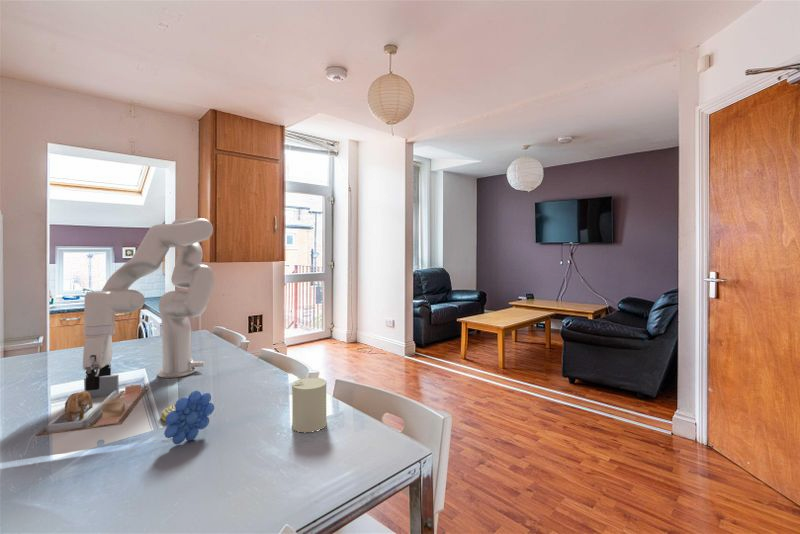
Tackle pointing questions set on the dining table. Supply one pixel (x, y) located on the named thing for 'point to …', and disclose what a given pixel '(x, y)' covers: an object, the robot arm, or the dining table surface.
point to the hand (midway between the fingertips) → (98, 384)
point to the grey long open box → (106, 388)
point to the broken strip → (130, 396)
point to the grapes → (189, 417)
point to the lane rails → (100, 417)
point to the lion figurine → (77, 404)
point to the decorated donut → (167, 411)
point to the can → (309, 404)
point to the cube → (113, 407)
